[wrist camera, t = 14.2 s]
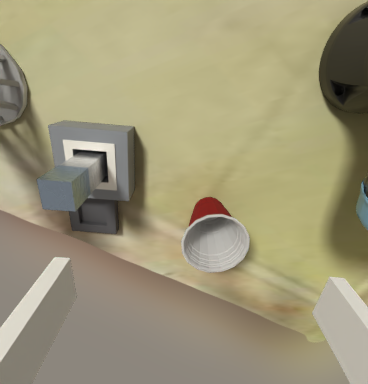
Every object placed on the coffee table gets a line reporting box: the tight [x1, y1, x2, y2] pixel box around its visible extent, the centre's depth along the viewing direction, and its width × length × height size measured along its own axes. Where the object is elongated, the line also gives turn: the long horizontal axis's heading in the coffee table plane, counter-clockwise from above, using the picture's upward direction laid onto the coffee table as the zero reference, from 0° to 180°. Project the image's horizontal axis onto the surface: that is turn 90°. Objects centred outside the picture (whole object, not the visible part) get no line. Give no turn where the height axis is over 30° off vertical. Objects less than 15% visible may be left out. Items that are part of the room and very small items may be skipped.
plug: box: [37, 150, 108, 212], centre depth 34 cm, size 4×4×15 cm
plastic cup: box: [181, 197, 250, 273], centre depth 41 cm, size 11×11×12 cm
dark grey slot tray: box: [69, 198, 119, 234], centre depth 46 cm, size 9×9×2 cm
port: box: [48, 121, 135, 201], centre depth 39 cm, size 12×12×5 cm
